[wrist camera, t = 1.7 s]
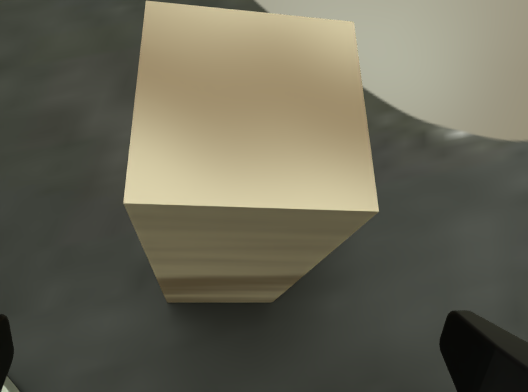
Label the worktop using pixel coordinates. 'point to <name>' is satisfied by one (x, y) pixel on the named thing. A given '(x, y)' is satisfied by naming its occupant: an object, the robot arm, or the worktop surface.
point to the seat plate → (9, 386)
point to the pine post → (245, 149)
